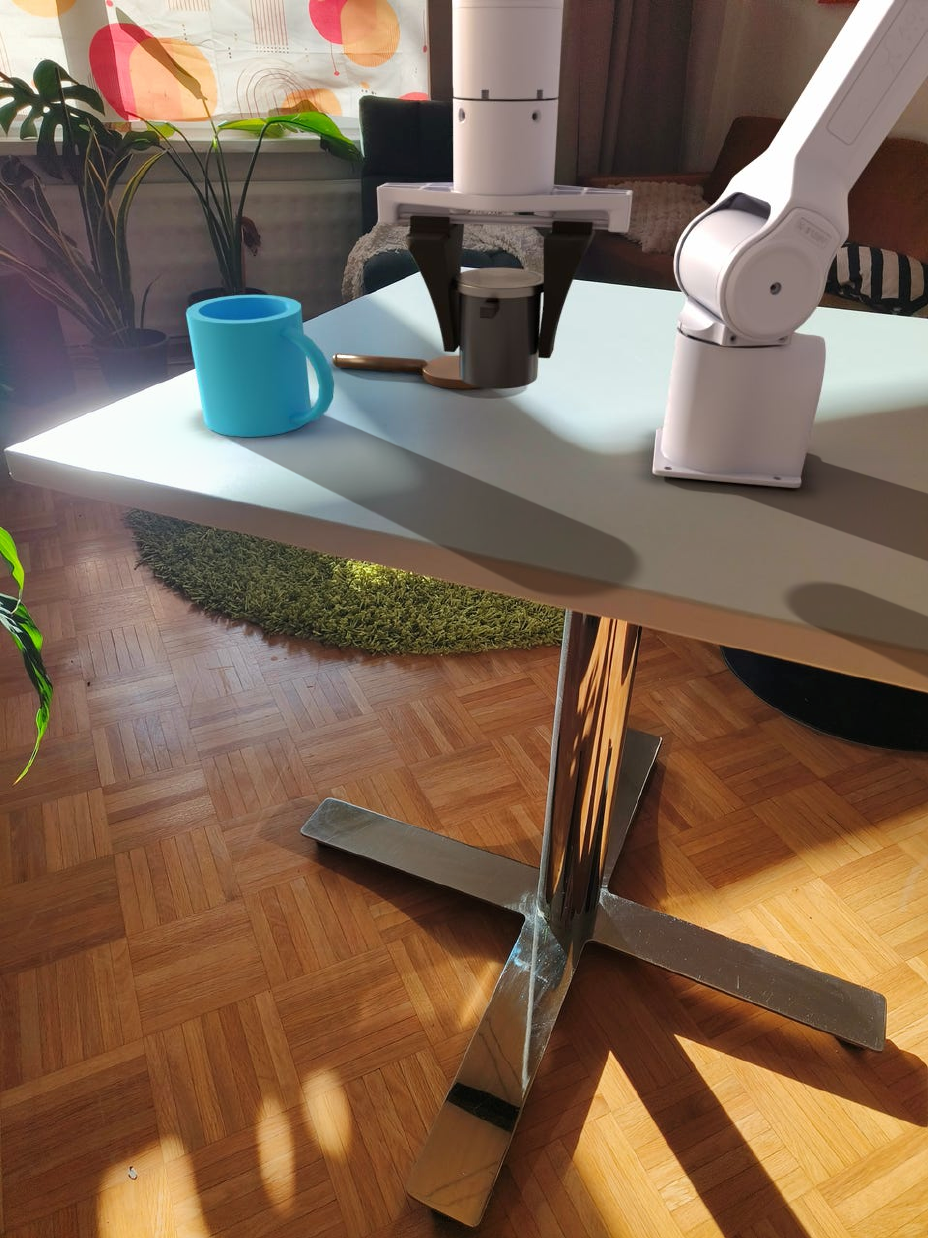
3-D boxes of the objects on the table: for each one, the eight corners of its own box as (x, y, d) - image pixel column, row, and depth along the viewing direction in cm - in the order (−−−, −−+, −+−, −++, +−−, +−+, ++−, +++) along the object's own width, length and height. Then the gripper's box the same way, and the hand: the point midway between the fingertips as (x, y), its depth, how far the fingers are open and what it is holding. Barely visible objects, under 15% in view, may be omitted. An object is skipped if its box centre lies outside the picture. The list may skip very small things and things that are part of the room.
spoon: (506, 366, 77) (507, 353, 77) (492, 391, 72) (493, 377, 71) (345, 355, 80) (344, 342, 79) (320, 378, 74) (318, 364, 74)
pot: (547, 365, 57) (552, 269, 54) (531, 402, 51) (536, 297, 48) (464, 360, 58) (464, 265, 54) (439, 395, 52) (438, 291, 49)
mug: (181, 421, 66) (161, 311, 61) (259, 392, 71) (246, 289, 67) (297, 457, 60) (283, 339, 56) (371, 422, 66) (365, 312, 61)
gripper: (644, 96, 49) (619, 339, 56) (396, 93, 51) (405, 326, 59) (638, 103, 43) (612, 373, 50) (360, 99, 45) (374, 357, 53)
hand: (499, 350), depth 54 cm, fingers closed on pot, 5 cm apart
